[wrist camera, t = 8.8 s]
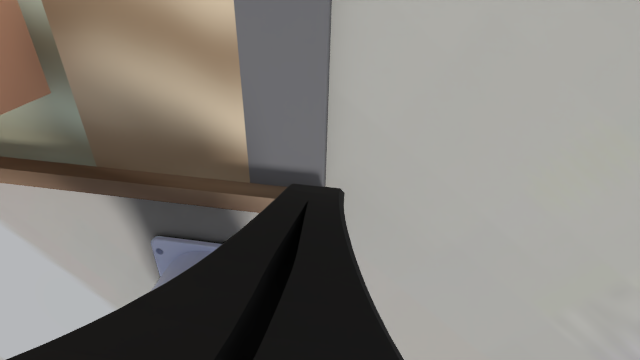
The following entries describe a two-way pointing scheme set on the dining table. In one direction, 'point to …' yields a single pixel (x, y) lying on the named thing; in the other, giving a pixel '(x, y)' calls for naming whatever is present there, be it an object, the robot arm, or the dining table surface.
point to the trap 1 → (285, 88)
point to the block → (18, 61)
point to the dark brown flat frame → (135, 104)
